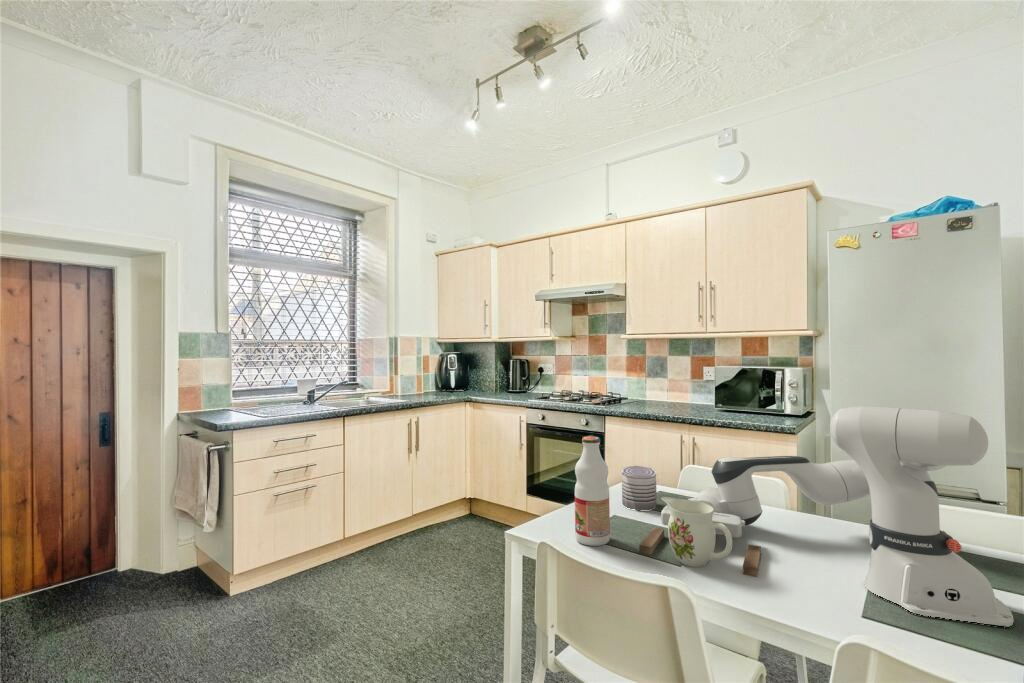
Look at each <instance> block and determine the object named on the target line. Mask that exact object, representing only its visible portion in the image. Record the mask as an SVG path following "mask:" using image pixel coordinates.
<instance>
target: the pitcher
mask: <svg viewBox="0 0 1024 683" xmlns="http://www.w3.org/2000/svg"><path fill="white" fill-rule="evenodd" d="M686 499H687V498H676V497H671V496H670V497H669V496H662V497H661V500H662V501H663V502H664V503H665V504H666V506H667V505H668V507H669V509H670V513H671V515H670V519H669V523H668V526H667V532H668V533H667V534H668V535H667V536H668V540H669V544H670V548H671V550H672V553H673V555H674V557H675V558H676V559H677V561H678V560H679V561H680V562H681V564H682V565H685V566H688V567H693V568H697V567H699V568H700V567H704V566H706V565H707V564H708V562H709V561H710V560H722V559H725V558H726V557H727V556H729V555H730V554H731V552H732V551H733V550H732V549H733V537H732V536H731V533H730V531H729V529H728V528H727V527H726V526H725V525H724V524H722V523H713V521H712V516H713V511H714V509H713V507H711V506H710V505H707V504H705V503H701V502H697V501H692V500H686ZM715 528H719V529H721V530H722V531H723V532H724V534H725V535H724V536H725V540H726V545H725V548H724V550H723V551H721V552H714V550H715V548H716V537H717V534H716V532H715ZM679 561H678V562H679ZM680 562H679V563H680Z"/></svg>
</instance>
